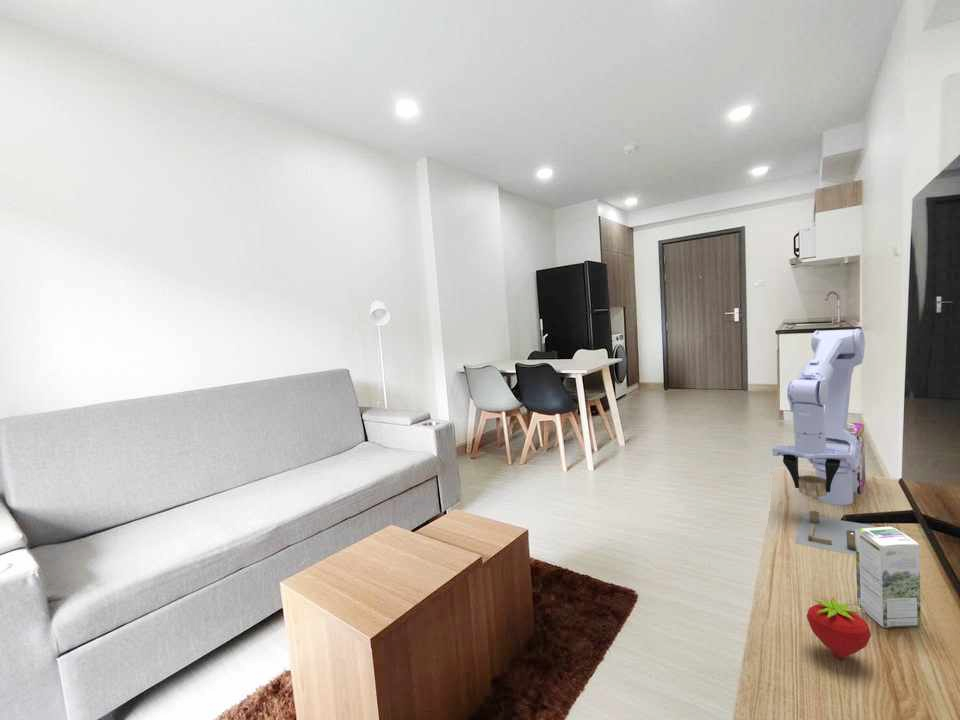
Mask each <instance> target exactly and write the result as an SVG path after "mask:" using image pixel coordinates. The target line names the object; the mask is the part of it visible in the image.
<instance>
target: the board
mask: <svg viewBox="0 0 960 720" xmlns="http://www.w3.org/2000/svg"><path fill="white" fill-rule="evenodd" d="M862 528H876V526H875V525H872V524H868V523H867V524H866V523H860V522H854V521H847V520H841V519H834V518H829V517H822V516H820V513H819V511H816V510H810V511H809V514H805V513H802V516H801V519H800V523H799V527H798V531H797V533H796V534H797V535H796V538H795V541H794V544H798V545H801V546H807V547H811V548H816V549H822V550H827V551H832V552H836V553H841V554H845V555H846V554H847V555H852V556H856V551H852V550H849V549H847V537H846V531H848V530H851V531H855V529H862Z"/></svg>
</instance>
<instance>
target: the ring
mask: <svg viewBox="0 0 960 720" xmlns="http://www.w3.org/2000/svg"><path fill="white" fill-rule="evenodd" d="M798 484H799V488H798V493H800V494H802V495H804V496H807V497H813V498H817V497H823V496H827V492H826V479H824V478H821V477H818V476H816V475H807V474H806V475H799V478H798Z"/></svg>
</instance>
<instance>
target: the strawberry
mask: <svg viewBox="0 0 960 720" xmlns="http://www.w3.org/2000/svg"><path fill="white" fill-rule="evenodd" d="M814 602H816V603H818V604H813V605H812V606H810V607H809V608H808V610H807V614H806V619H807V622H808V624H809V627H810V629H811V631H812V632H813V634H815V636H816V637H817V638H818V639H819V640H820V642H821V643H822V644H823V645H824V646H825V647H826V648H827V649H828V650H829V651H830V652H831V653H832V655H834V656H835V657H837V658H840V659H845V658H847V657H848V656H850V655H854V654H856V653H858V652H860V651H861V650H863V649H864V648H866V647H867V645H868V643H869V640H870V638H871V637H872V633H871V629H870V626H869V625H868V623H867V622H866V621H865V620H864V619H863V618H862V617H861V616H860V615H858V614H860V612H859V611H856V610H852V609H850V608H848V606H849V604H839V603H838V600H837V599H836V598H835V597H832V599H831V600H830V601H828V600H826V599H824V600H823V601H822V600H817V599H814Z"/></svg>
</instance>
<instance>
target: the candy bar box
mask: <svg viewBox="0 0 960 720" xmlns="http://www.w3.org/2000/svg"><path fill="white" fill-rule="evenodd" d="M846 431H848V432H849V433H850V434H852V435H853V436H855V437H856V438H857V439H858V441H859V443H860V464H859V467H858V468H857V469H855V470H852V480H853V493H854V494H853V495H861V494H862V492H863V491H862V490H863V489H864V485H865V483H866V459H865V458H866V457H865V455H866V453H865V452H866V451H865V424H864V423H856V422H847V428H846ZM837 443H841V442H837ZM845 444H848V443H845Z"/></svg>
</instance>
